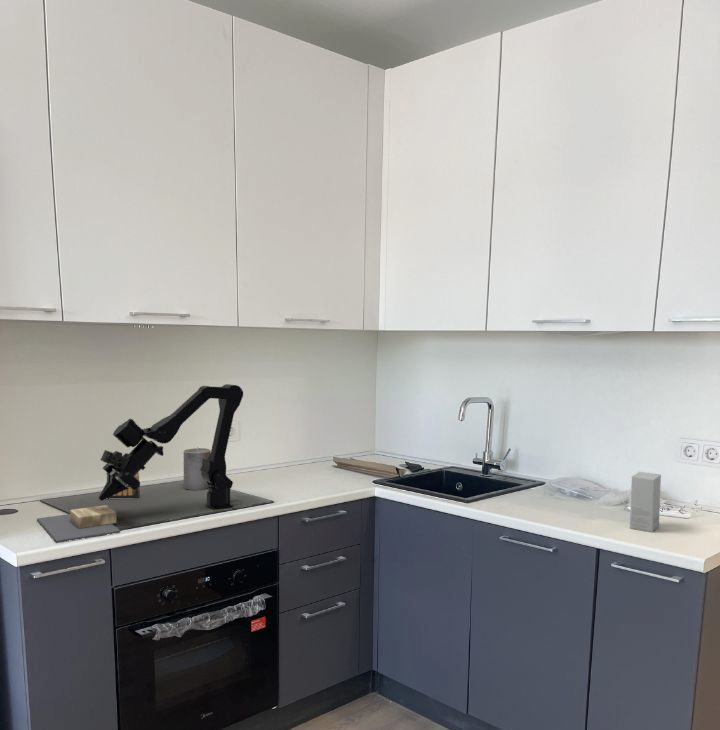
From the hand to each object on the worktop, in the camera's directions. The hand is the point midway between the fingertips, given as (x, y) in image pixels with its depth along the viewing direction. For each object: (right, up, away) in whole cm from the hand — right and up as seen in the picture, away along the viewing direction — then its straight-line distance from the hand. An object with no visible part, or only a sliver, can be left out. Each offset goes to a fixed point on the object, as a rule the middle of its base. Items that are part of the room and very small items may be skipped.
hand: (99, 499), depth 179 cm
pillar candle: (+15, -6, +48) cm, 51 cm away
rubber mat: (-5, -7, -3) cm, 9 cm away
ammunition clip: (-5, -6, +30) cm, 31 cm away
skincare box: (+158, -9, +3) cm, 159 cm away
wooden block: (+2, -5, +2) cm, 6 cm away
